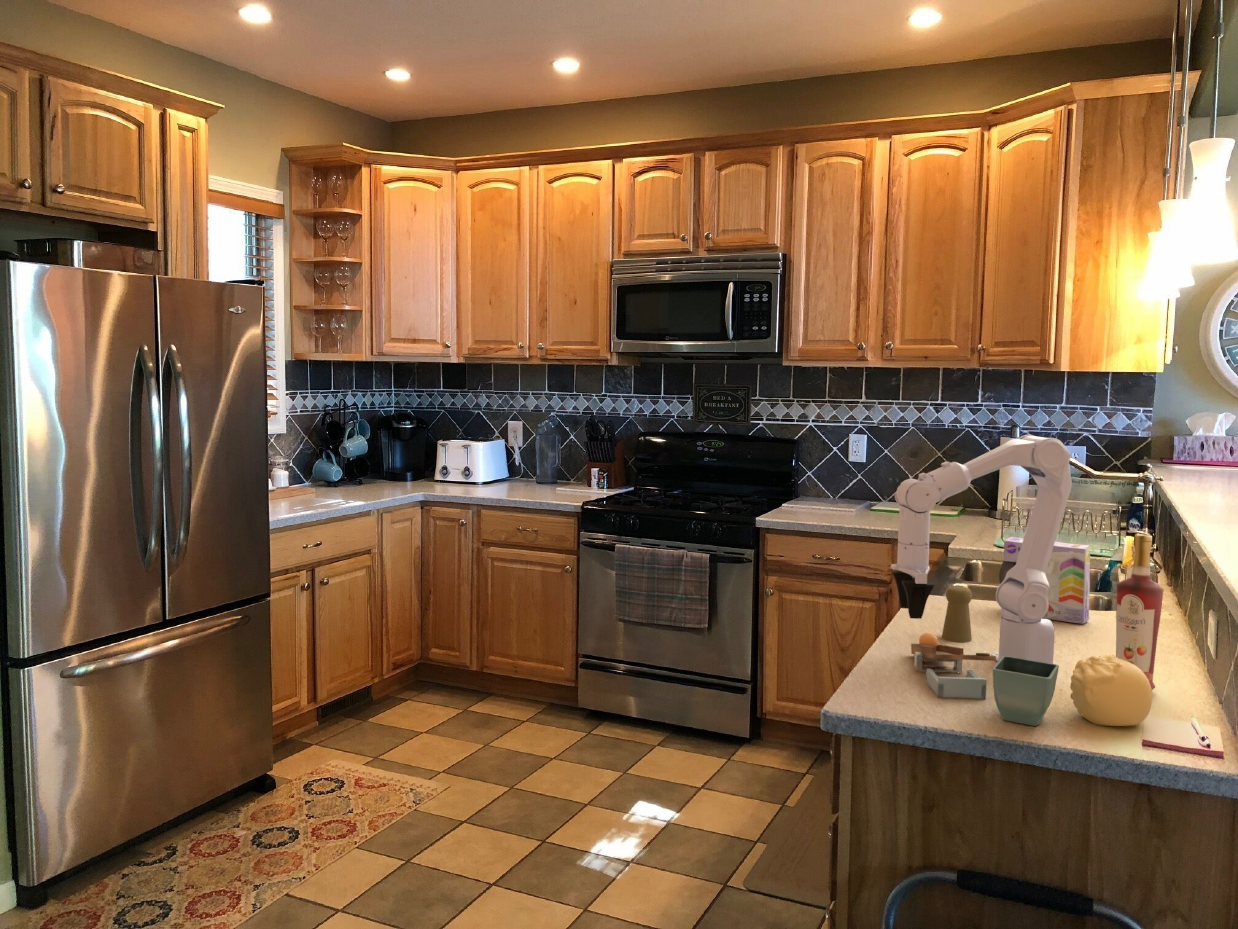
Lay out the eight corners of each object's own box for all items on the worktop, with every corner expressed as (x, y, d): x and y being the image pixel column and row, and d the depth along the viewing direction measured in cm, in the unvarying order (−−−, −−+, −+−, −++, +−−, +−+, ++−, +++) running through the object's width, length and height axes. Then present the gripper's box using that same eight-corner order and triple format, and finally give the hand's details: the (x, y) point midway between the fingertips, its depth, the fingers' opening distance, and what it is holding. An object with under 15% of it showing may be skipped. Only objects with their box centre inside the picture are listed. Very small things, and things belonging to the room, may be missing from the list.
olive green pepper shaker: (940, 640, 208) (943, 588, 207) (942, 633, 214) (945, 582, 213) (971, 643, 206) (973, 591, 205) (972, 636, 212) (975, 585, 211)
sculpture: (1063, 705, 169) (1067, 643, 168) (1141, 713, 165) (1146, 650, 164) (1073, 728, 158) (1077, 662, 157) (1157, 738, 155) (1162, 670, 153)
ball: (935, 650, 196) (934, 632, 196) (940, 651, 192) (939, 632, 193) (917, 650, 196) (917, 632, 197) (921, 650, 193) (921, 632, 193)
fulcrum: (958, 669, 188) (959, 652, 188) (962, 673, 186) (963, 656, 185) (913, 667, 189) (914, 651, 188) (916, 671, 186) (917, 655, 186)
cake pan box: (996, 611, 234) (1000, 537, 232) (1003, 608, 238) (1008, 535, 236) (1082, 626, 222) (1087, 548, 220) (1089, 622, 225) (1094, 545, 224)
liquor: (1162, 692, 177) (1174, 536, 174) (1146, 700, 172) (1157, 540, 169) (1120, 681, 182) (1130, 530, 179) (1103, 689, 177) (1113, 534, 175)
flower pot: (1047, 734, 155) (1050, 678, 155) (988, 722, 160) (991, 668, 159) (1056, 717, 163) (1059, 664, 162) (999, 707, 168) (1002, 655, 167)
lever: (969, 659, 196) (968, 645, 196) (996, 665, 180) (996, 649, 180) (910, 657, 197) (910, 643, 197) (932, 663, 180) (932, 647, 181)
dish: (970, 683, 180) (971, 664, 179) (985, 699, 171) (986, 679, 171) (926, 682, 180) (926, 663, 180) (938, 697, 172) (939, 678, 171)
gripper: (884, 535, 196) (882, 603, 197) (900, 549, 182) (897, 622, 183) (920, 536, 196) (918, 604, 197) (939, 550, 181) (936, 623, 182)
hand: (911, 613), depth 190 cm, fingers open, 7 cm apart
